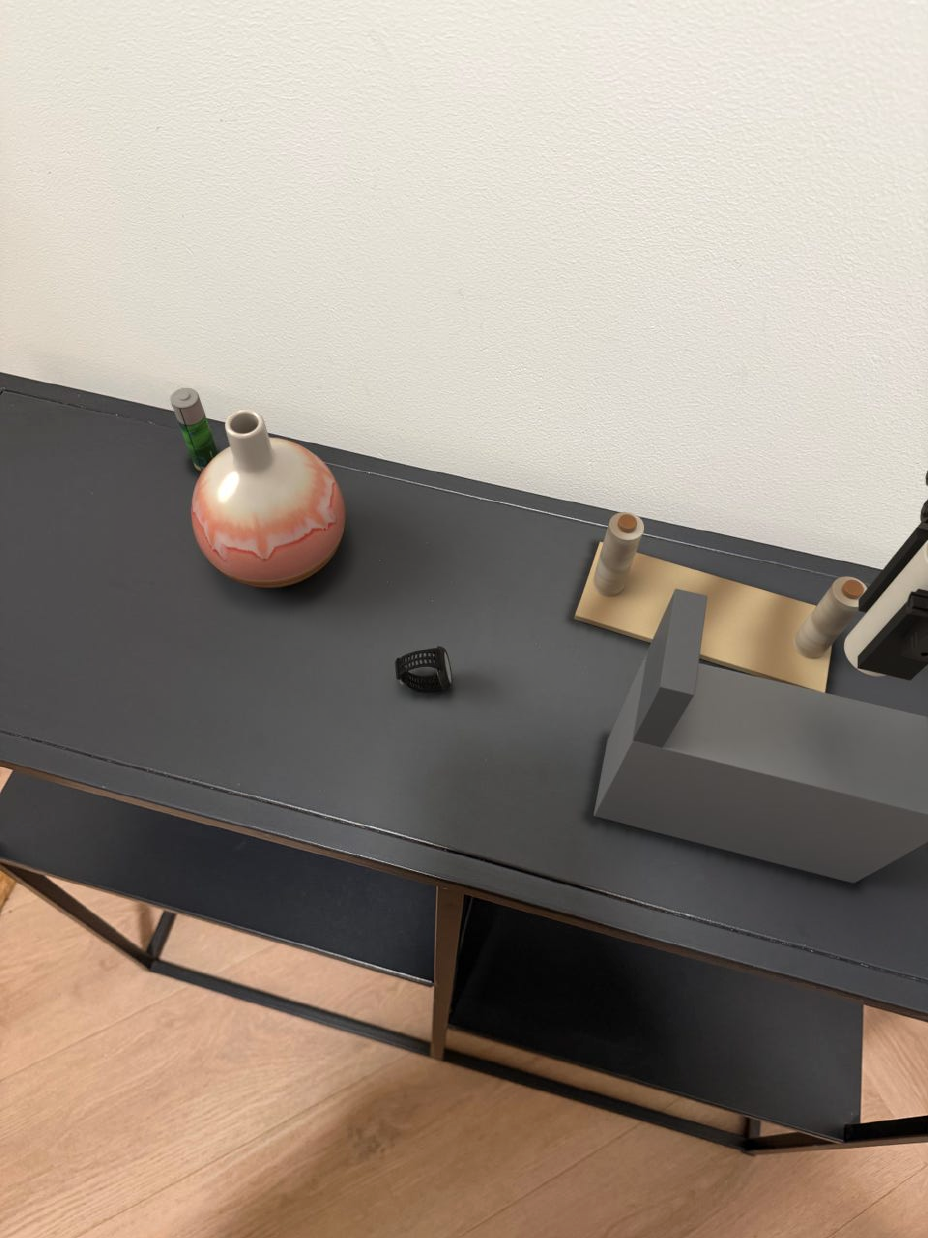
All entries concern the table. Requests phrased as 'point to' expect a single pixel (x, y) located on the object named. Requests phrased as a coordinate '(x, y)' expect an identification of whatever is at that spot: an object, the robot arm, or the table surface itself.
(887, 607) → the white cell
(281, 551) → the vase
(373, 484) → the table surface
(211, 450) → the battery
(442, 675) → the smartwatch
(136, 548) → the table surface
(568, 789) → the table surface
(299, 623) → the table surface
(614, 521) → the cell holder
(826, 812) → the grey stand
